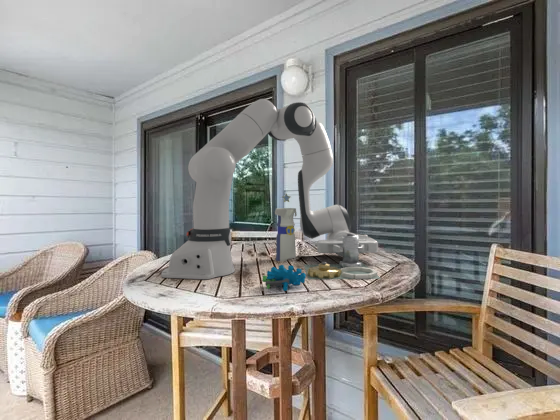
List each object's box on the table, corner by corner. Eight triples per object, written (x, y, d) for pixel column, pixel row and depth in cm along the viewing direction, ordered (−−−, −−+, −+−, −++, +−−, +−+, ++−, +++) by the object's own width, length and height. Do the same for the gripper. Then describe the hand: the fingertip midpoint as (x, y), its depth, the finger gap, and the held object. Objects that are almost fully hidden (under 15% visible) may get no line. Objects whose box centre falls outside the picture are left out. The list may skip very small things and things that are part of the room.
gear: (309, 281, 87) (300, 260, 80) (309, 302, 83) (300, 282, 76) (269, 285, 89) (257, 265, 82) (267, 305, 85) (254, 286, 78)
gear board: (308, 283, 91) (308, 279, 91) (303, 268, 110) (303, 264, 110) (381, 282, 91) (381, 278, 91) (364, 267, 110) (364, 263, 110)
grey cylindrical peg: (341, 269, 102) (341, 235, 102) (337, 264, 109) (337, 232, 109) (364, 269, 102) (364, 235, 102) (359, 264, 109) (359, 232, 109)
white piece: (302, 260, 123) (301, 193, 122) (282, 262, 119) (281, 193, 118) (290, 256, 130) (289, 193, 129) (271, 259, 126) (270, 193, 125)
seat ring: (343, 278, 91) (343, 275, 91) (337, 270, 101) (337, 267, 101) (380, 278, 91) (380, 274, 91) (370, 269, 101) (370, 266, 101)
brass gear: (308, 278, 91) (308, 265, 91) (306, 270, 101) (306, 259, 101) (343, 278, 91) (343, 265, 91) (337, 270, 101) (337, 258, 101)
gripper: (314, 235, 118) (318, 240, 104) (371, 234, 118) (383, 239, 104) (314, 252, 119) (318, 260, 105) (371, 252, 118) (383, 259, 105)
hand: (351, 250), depth 105 cm, fingers closed on grey cylindrical peg, 5 cm apart
